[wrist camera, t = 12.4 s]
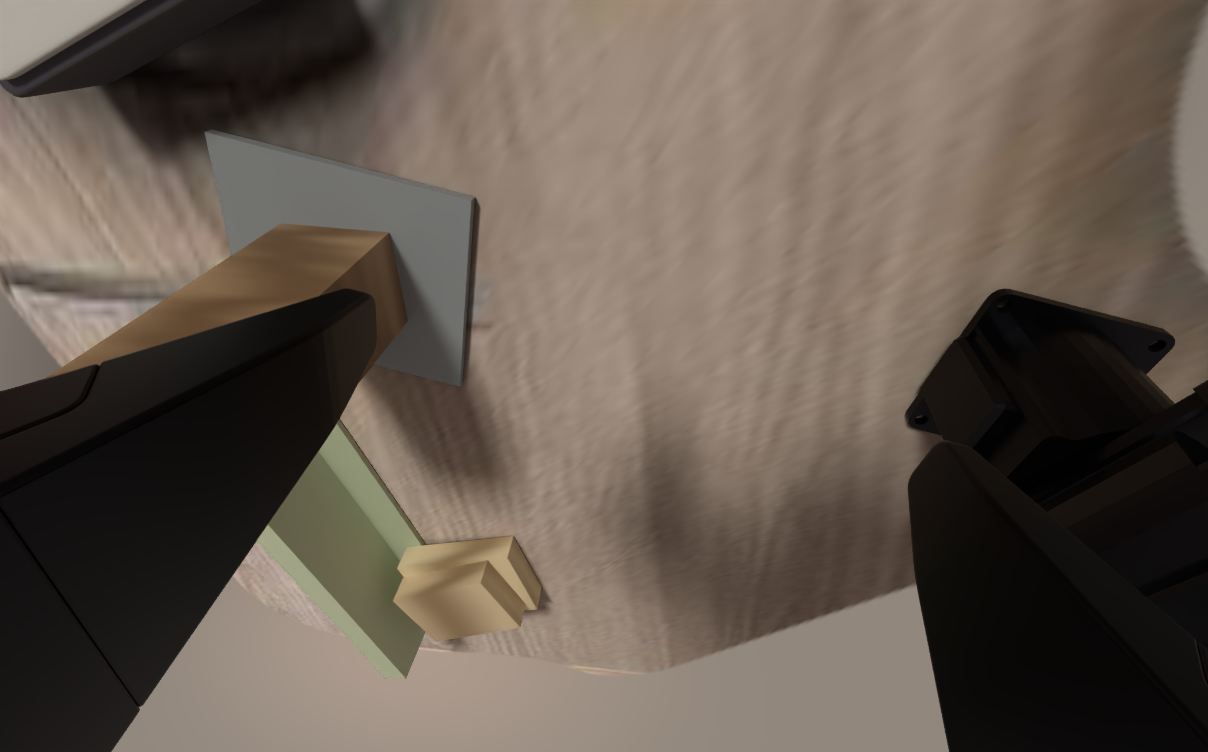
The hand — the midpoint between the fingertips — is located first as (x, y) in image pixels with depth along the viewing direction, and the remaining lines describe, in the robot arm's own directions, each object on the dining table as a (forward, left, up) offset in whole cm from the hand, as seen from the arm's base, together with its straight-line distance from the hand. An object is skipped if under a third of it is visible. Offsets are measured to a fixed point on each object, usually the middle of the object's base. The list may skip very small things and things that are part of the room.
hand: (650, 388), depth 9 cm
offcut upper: (+5, +27, -11) cm, 30 cm away
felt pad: (+12, +8, -13) cm, 19 cm away
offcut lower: (+5, +27, -13) cm, 30 cm away
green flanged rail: (+12, +25, -13) cm, 30 cm away
